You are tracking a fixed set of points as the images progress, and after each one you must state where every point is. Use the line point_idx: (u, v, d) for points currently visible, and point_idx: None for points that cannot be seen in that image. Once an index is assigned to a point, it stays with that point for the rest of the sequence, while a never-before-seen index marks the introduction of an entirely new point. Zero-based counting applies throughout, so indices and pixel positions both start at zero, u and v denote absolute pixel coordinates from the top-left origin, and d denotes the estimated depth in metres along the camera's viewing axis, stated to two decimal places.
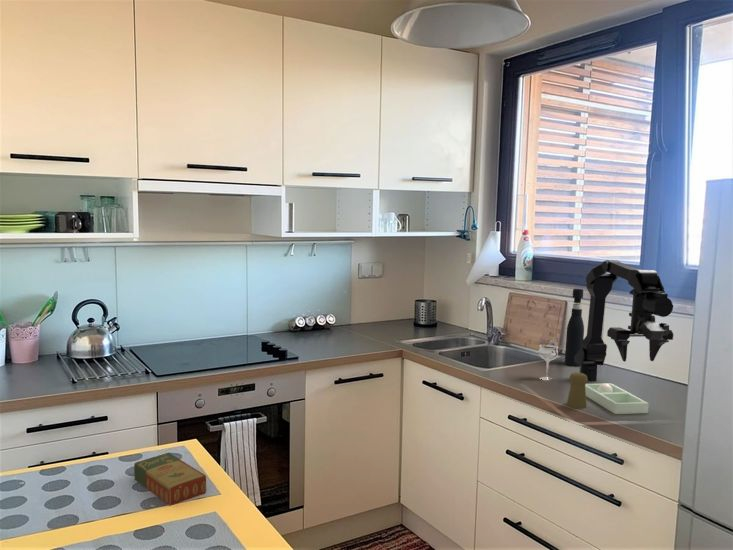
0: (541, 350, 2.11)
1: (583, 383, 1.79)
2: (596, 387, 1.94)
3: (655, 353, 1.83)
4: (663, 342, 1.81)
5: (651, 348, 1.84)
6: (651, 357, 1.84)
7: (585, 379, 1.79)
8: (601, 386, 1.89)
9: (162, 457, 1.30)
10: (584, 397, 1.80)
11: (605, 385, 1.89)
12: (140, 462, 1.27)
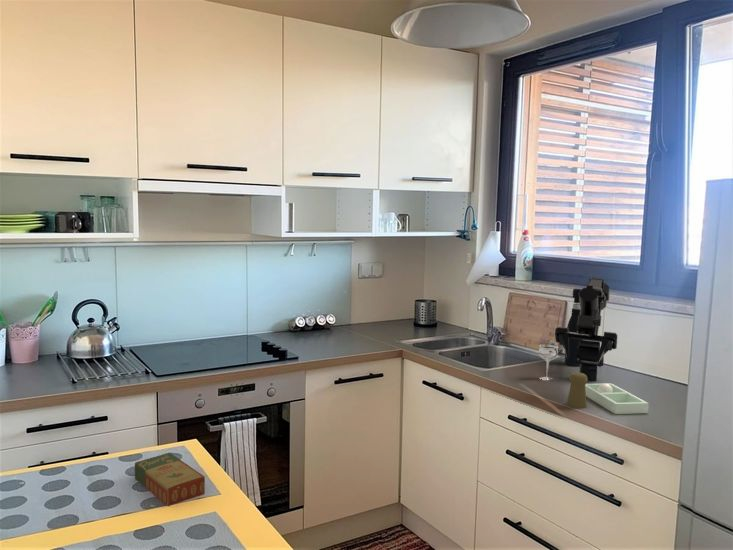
0: (541, 350, 2.11)
1: (583, 383, 1.79)
2: (596, 387, 1.94)
3: (600, 353, 1.87)
4: (605, 340, 1.87)
5: None
6: (597, 358, 1.87)
7: (585, 379, 1.79)
8: (601, 386, 1.89)
9: (163, 457, 1.30)
10: (584, 397, 1.80)
11: (605, 385, 1.89)
12: (140, 462, 1.27)
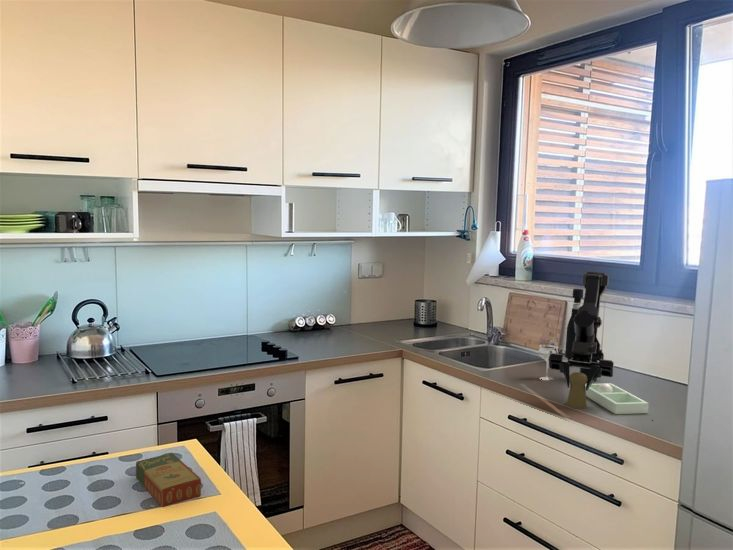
0: (541, 350, 2.11)
1: (583, 383, 1.79)
2: (596, 387, 1.94)
3: (588, 380, 1.80)
4: (594, 368, 1.80)
5: None
6: (586, 386, 1.80)
7: (585, 379, 1.79)
8: (601, 386, 1.89)
9: (164, 457, 1.30)
10: (584, 397, 1.80)
11: (605, 385, 1.89)
12: (141, 461, 1.27)
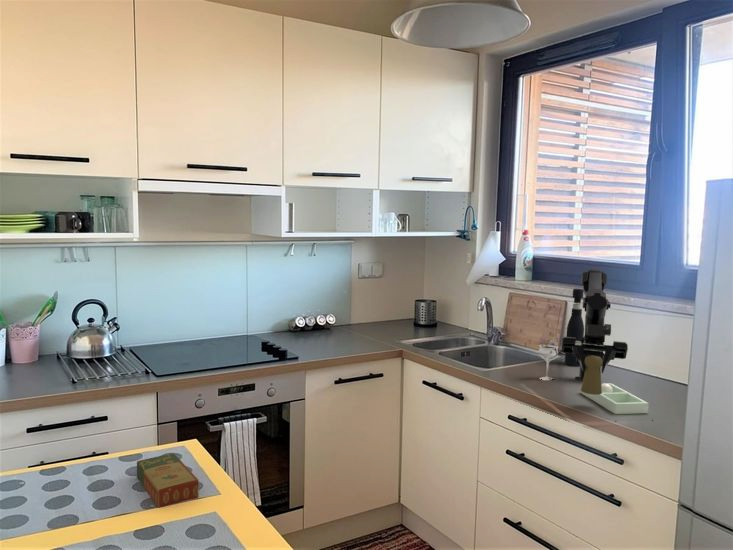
0: (541, 350, 2.11)
1: (599, 366, 1.78)
2: None
3: (604, 363, 1.79)
4: (609, 350, 1.79)
5: None
6: None
7: (601, 362, 1.78)
8: None
9: (165, 457, 1.30)
10: (600, 380, 1.79)
11: (605, 385, 1.89)
12: (142, 461, 1.28)
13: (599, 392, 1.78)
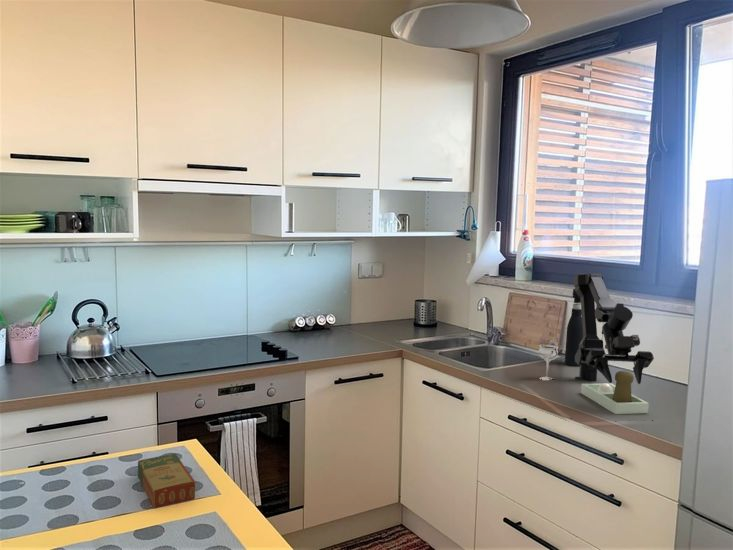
0: (541, 350, 2.11)
1: (631, 382, 1.78)
2: (596, 387, 1.94)
3: (639, 374, 1.79)
4: (642, 360, 1.81)
5: (636, 373, 1.82)
6: (638, 380, 1.79)
7: (633, 377, 1.78)
8: (601, 386, 1.89)
9: (166, 457, 1.30)
10: (631, 395, 1.79)
11: (605, 385, 1.89)
12: (142, 461, 1.28)
13: None
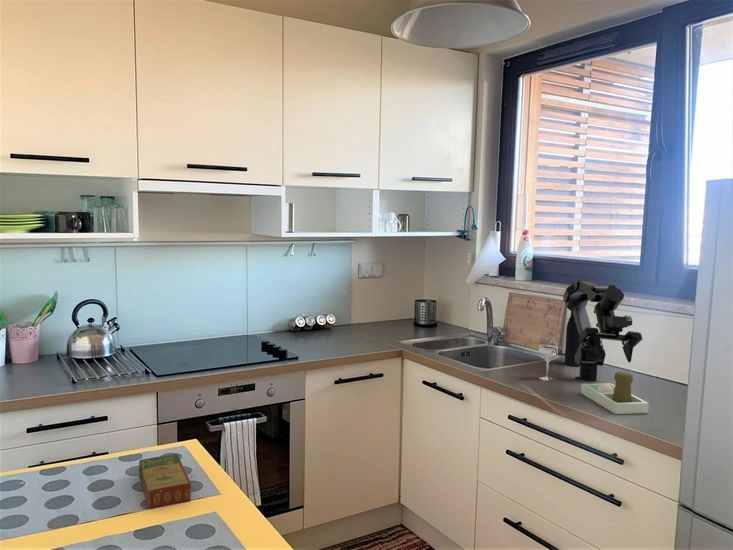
0: (541, 350, 2.11)
1: (631, 381, 1.78)
2: (596, 387, 1.94)
3: (630, 353, 1.89)
4: (633, 340, 1.90)
5: (626, 352, 1.91)
6: (628, 358, 1.89)
7: (632, 377, 1.79)
8: (601, 386, 1.89)
9: (167, 457, 1.30)
10: (630, 395, 1.80)
11: (605, 385, 1.89)
12: (143, 460, 1.28)
13: None
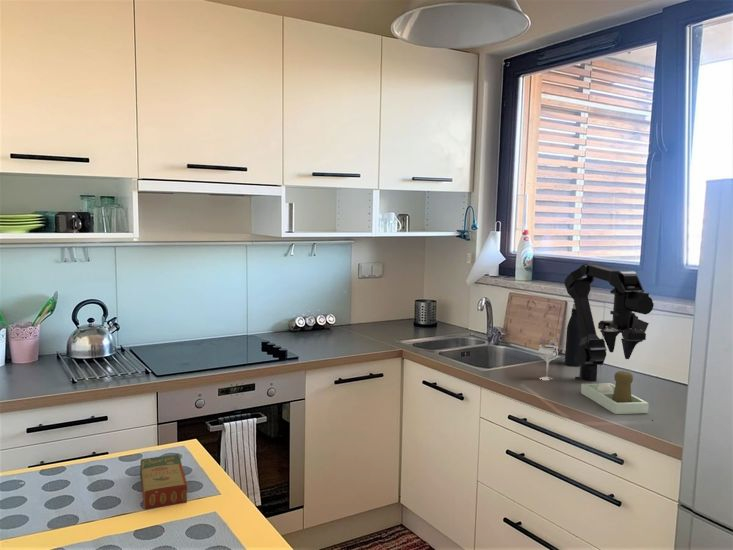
0: (541, 350, 2.11)
1: (631, 381, 1.78)
2: (596, 387, 1.94)
3: None
4: None
5: (609, 341, 2.01)
6: (612, 349, 2.01)
7: (632, 377, 1.79)
8: (601, 386, 1.89)
9: (168, 457, 1.30)
10: (630, 395, 1.80)
11: (605, 385, 1.89)
12: (144, 460, 1.28)
13: None
